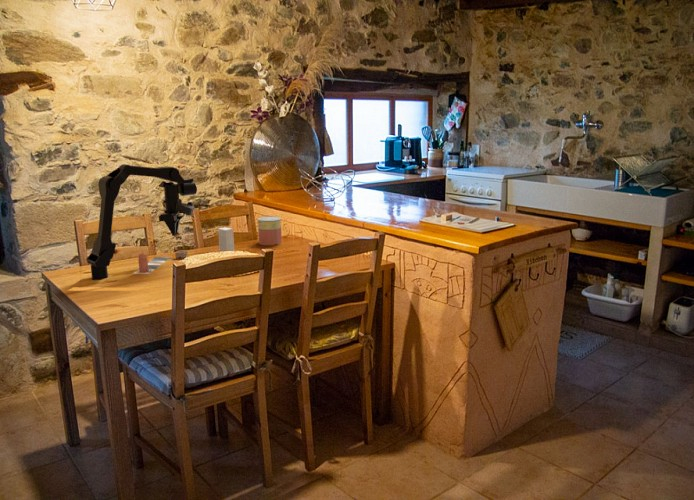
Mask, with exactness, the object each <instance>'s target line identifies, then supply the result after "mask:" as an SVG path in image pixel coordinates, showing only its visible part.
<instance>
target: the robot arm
mask: <svg viewBox="0 0 694 500" xmlns="http://www.w3.org/2000/svg"><path fill="white" fill-rule="evenodd" d="M129 176H138V177H150V178H151V177H152V178H157V179H160V180H163V181H161V182H160V183H159V184H158V187H159V188H163V193H164V200H162V201H163V204H164V205H165V207H164V208H165V210H164V211H163V212H162V213H161V214H160V215H158V221H159V222H164V224H165V225H166V227H167V228H168V230H169V231H170V233H171V235H172V236H175V235H176V234H178V232H179V227H180V223H181V220H182V219H183V218H184V216H185V215H186V216H191V215H193V214H194V210H196V209H195V206H194V203H193V202H192V201H188V202H187V203H186V202H185V203H184V202H182V201H183V200H182V199H181V198H180V197H184V196H186V197H187V196H194V195H196V194H197V191H198V186H197V185H196V182H195V181H194V178H187V179H186V178H185V179H184V178H183V176H182V175H181V174H180V170H179V169H178V168H177V167H175V166H168V165H166V166H165V165H164V166H157V167H152V166H151V167H150V166H148V167H147V166H138V165H131V164H125V163H124V164H120V165H119V166H118V167H117V168H115V169H114V170H112V171H111V172H109V173H108V174H106V175H103V176H102V177H101V178H99V179H98V193H99V196H100V200H101V201H100V210H99V218H98V219H99V221H98V230H97V237H96V239H95V240H94V243H93V246H92V248H91V249H92V250H91V253H90V254H89V255H88V256H87V257H86V259H85V260H86V262H87V264H88V265H90V271H91V272H90V273H91V279H92V281H101V280H105V279H107V278H109V273H108V266H110V264H111V260H112V259H113V257H114V255H116V246H117V243H116V242H113V240H112V229H113V219H114V211H115V210H114V209H115V201H116V199H117V198H118V196H119V193H120V189H121V186H123V184H124V183H125V182H126V181H127V179H128V178H129ZM166 181H167V182H166ZM168 181H169V182H168ZM181 214H183V215H181Z"/></svg>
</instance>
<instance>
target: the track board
mask: <svg viewBox="0 0 694 500" xmlns="http://www.w3.org/2000/svg"><path fill="white" fill-rule="evenodd" d="M171 259H173V258H172V257H170V256H162V257H161V256H159V257H158V256H155V257H154V258H152V259H151V260H149V261H148V270H149V271H148V272H145V273H141V272H140V271H139V269H137V270H136V271H134V272H133V273H132V274H133V275H147V274H148V275H150V274H151V273H152V272H153V271H155V270H156V269H157V268H159V267H161V266H162V265H163V264H164V263H165V262H166V261H169V260H171Z"/></svg>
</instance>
